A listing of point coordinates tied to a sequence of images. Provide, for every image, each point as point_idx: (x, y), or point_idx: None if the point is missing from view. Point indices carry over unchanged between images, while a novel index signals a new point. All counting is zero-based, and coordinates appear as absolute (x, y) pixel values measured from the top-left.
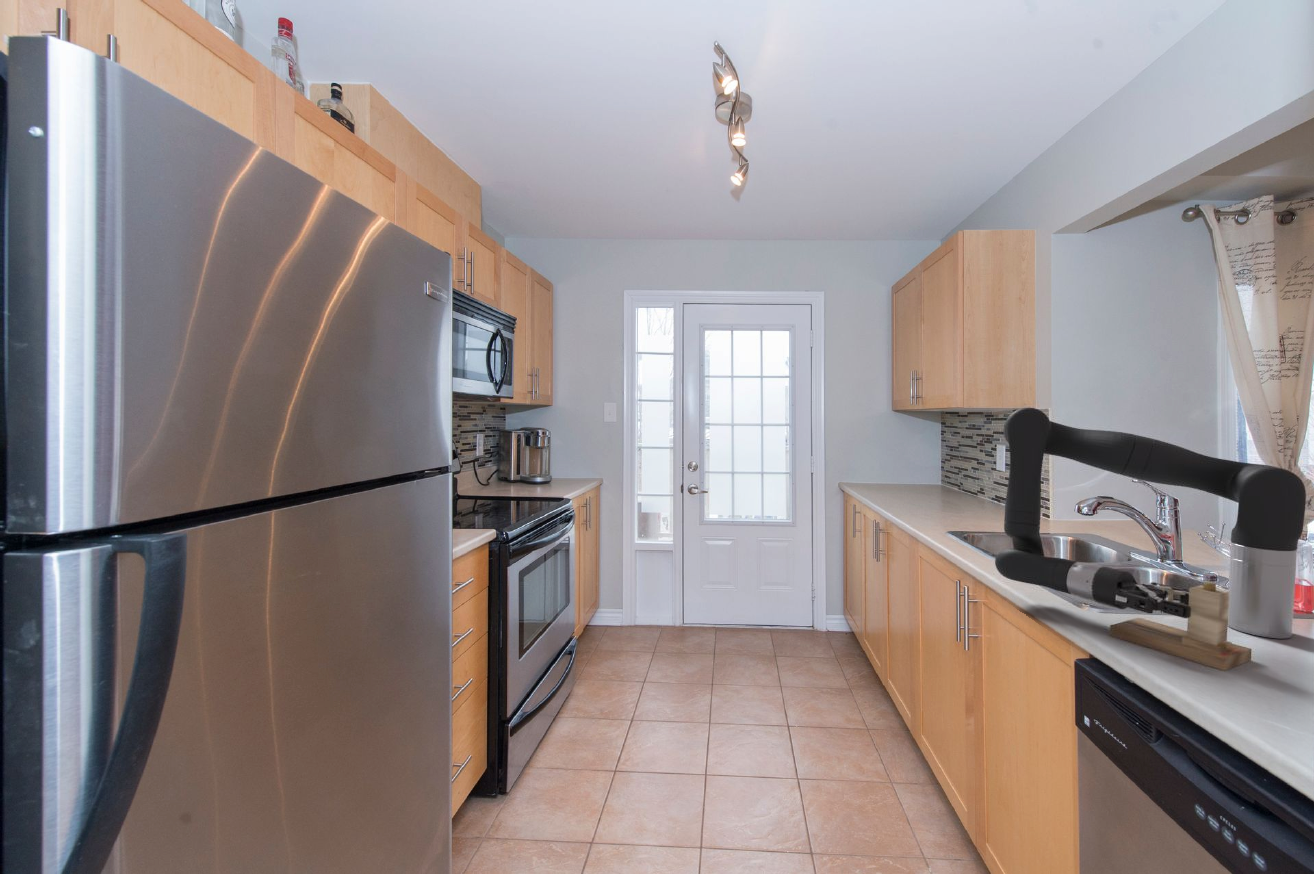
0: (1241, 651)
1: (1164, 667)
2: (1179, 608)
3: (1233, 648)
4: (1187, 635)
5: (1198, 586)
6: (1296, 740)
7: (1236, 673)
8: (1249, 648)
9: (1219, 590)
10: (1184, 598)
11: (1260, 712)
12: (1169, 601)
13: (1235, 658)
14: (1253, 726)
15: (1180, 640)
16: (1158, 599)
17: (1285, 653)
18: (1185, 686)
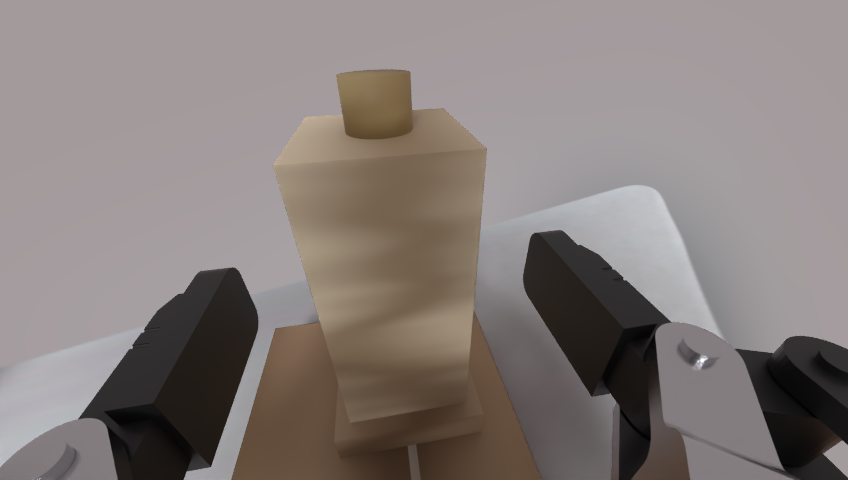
0: None
1: None
2: (595, 259)
3: None
4: (464, 394)
5: (347, 155)
6: (603, 196)
7: None
8: (275, 332)
9: (330, 124)
10: (152, 468)
11: (583, 229)
12: (614, 298)
13: None
14: (637, 214)
15: (441, 466)
16: (713, 336)
17: (86, 369)
18: (664, 302)
